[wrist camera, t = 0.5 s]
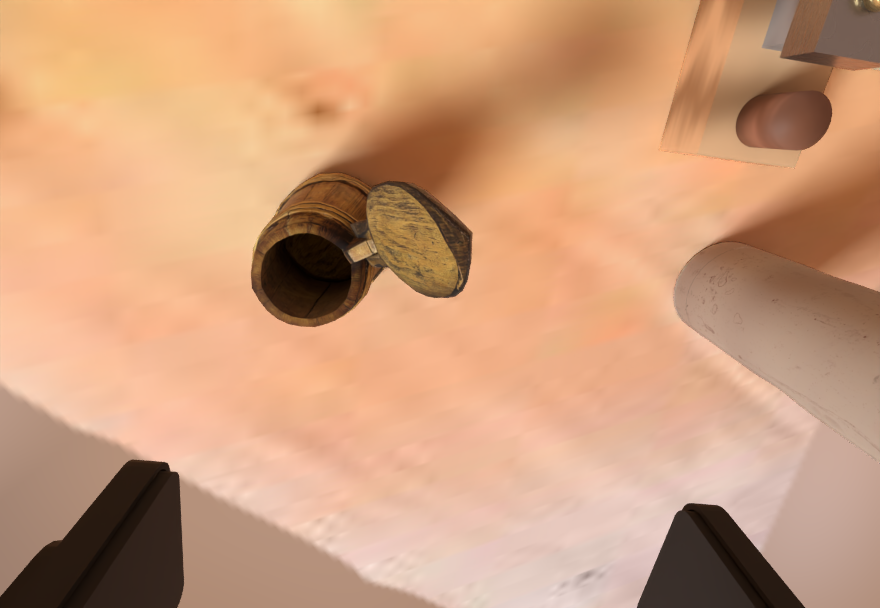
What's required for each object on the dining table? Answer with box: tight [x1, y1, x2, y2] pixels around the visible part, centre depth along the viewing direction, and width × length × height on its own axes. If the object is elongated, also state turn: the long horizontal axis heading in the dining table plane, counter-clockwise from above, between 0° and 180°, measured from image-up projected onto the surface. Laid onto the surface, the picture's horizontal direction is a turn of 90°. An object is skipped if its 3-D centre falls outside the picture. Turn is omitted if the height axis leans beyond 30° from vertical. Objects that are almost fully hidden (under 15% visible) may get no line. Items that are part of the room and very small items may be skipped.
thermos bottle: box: [673, 242, 880, 464], centre depth 27 cm, size 8×8×28 cm
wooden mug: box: [251, 173, 472, 327], centre depth 28 cm, size 9×14×18 cm, turn 115°
